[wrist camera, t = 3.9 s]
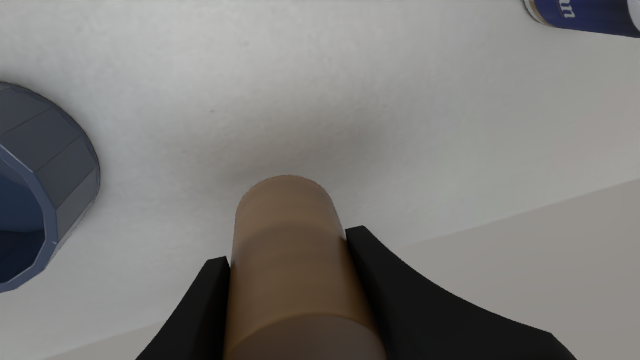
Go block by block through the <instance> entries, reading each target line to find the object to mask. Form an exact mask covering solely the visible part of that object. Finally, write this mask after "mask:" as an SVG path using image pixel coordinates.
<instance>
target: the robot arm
mask: <svg viewBox="0 0 640 360" xmlns="http://www.w3.org/2000/svg"><path fill="white" fill-rule="evenodd" d="M345 233H346V239H347V243H348V246H349V249H350V251H351V254H352V257H353V260H354V262H355V265H356V268H357V270H358V273H359V275H360V278H361V281H362V283H363V286H364V289H365V292H366V294H367V297H368V300H369V303H370V305H371V308H372V311H373V314H374V316H375V319H376V322H377V324H378V327H379V330H380V333H381V335H382V338H383V341H384V344H385V346H386V351H387V360H577V359H576V358H575V357H574V356H573V355H572V353H571V352H570V351H569V350H568V349H567V348H566V347H565V346H564V345H562V343H561V342H559V341H558V340H557V339H556V338H555V337H554V336H553V335H552V334H551V333H549V332H546V331H543V330H540V329H537V328H534V327H531V326H528V325H525V324H521V323H519V322H516V321H513V320H510V319H507V318H505V317H502V316H500V315H497V314H495V313H492V312H489V311H487V310H485V309H483V308H481V307H478V306H476V305H474V304H472V303H470V302H468V301H466V300H463V299H462V298H460V297H458V296H455V295H454V294H452V293H450V292H448V291H446V290H445V289H443V288H441V287H440V286H438V285H436V284H435V283H433V282H431V281H430V280H429V279H427V278H426V277H424V276H422V275H421V274H420V273H418V272H417V271H416V270H414V269H413V268H411V267H410V266H409V265H407V264H406V263H405V262H404V261H402V260H401V259H400V258H399V257H397V256H396V255H395V254H394V253H393V252H391V251H390V250H389V249H388V248H387V247H386V246H384V245H383V244H382V243H381V242H380V241H379V240H378V239H377V238H376V237H375V236H374V235H373V234H372V233H371V232H370V231H369V230H368V229H367V228H366V227H365V226H363V225H362V226H357V227H353V228H348V229H345ZM229 277H230V267H229V264H228V261H227V258H226V256H223V257H218V258H214V259H209V260H207V261H206V263H205V264H204V266H203V267H202V269H201V270H200V272H199V273H198V275H197V277H196V278H195V280H194V281H193V283H192V285H191V286H190V288H189V289H188V291H187V292H186V294H185V295H184V297H183V298H182V300H181V301H180V303H179V304H178V306H177V307H176V309H175V310H174V312H173V313H172V315H171V316H170V317H169V319H168V320H167V321H166V323H165V324H164V325H163V327H162V328H161V330H160V331H159V332H158V334H157V335H156V336H155V337H154V339H153V340H152V341H151V342H150V343H149V344H148V346H147V347H146V348H145V349H144V350H143V351H142V352H141V354H140V355H139V356H138V357H137V358H136V359H135V360H222V351H223V340H224V330H225V319H226V309H227V298H228V288H229Z"/></svg>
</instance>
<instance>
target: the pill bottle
mask: <svg viewBox="0 0 640 360" xmlns="http://www.w3.org/2000/svg"><path fill="white" fill-rule="evenodd" d="M524 2H525V4H526V7H527V9H528V11H529V12H530V14H531V15H532V16H533V17H534V18H535V19H536V20H537V21H539V22H541V23H542V24H545V25H547V26H551V27H557V28H563V29H572V30H580V31H588V32H596V33H604V34H611V35H620V36H627V37H633V38H640V0H524Z"/></svg>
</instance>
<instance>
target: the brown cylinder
mask: <svg viewBox="0 0 640 360" xmlns="http://www.w3.org/2000/svg"><path fill="white" fill-rule="evenodd" d="M222 360H387V351H386V346H385V344H384V341H383V338H382V335H381V333H380V330H379V327H378V324H377V322H376V319H375V316H374V314H373V311H372V308H371V305H370V303H369V300H368V297H367V294H366V292H365V289H364V286H363V283H362V281H361V278H360V275H359V273H358V270H357V268H356V265H355V262H354V260H353V257H352V254H351V251H350V249H349V246H348V243H347V240H346V237H345V234H344V231H343V229H342V226H341V223H340V220H339V218H338V215H337V212H336V210H335V207H334V204H333V202H332V199H331V198H330V196H329V194H328V193H327V192H326V191H325V189H323V188H322V187H321V186H320V185H319V184H317V183H316V182H314V181H312V180H310V179H307V178H304V177H301V176H295V175H280V176H275V177H271V178H268V179H265V180H263V181H261V182H259V183H257V184H256V185H255V186H253V187H252V188H251V189H250V190H248V191H247V192H246V194H245V195H244V196H243V197H242V199H241V201H240V202H239V204H238V207H237V210H236V214H235V225H234V235H233V246H232V256H231V267H230V277H229V288H228V298H227V309H226V319H225V330H224V340H223V351H222Z"/></svg>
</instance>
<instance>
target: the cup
mask: <svg viewBox="0 0 640 360" xmlns="http://www.w3.org/2000/svg"><path fill="white" fill-rule="evenodd" d="M99 182H100V172H99V165H98V161H97V157H96V154H95V152H94V149H93V147H92V145H91V143H90V141H89V140H88V138H87V136H86V135H85V134H84V132H83V131H82V129H81V128H80V127H79V126H78V125H77V124H76V123H75V121H74V120H73V119H72V118H71V117H70V116H68V115H67V114H66V113H65V112H64V111H63V110H62V109H60V108H59V107H57V106H56V105H55V104H53V103H52V102H50V101H49V100H47V99H45V98H43V97H42V96H40V95H38V94H36V93H34V92H31V91H29V90H27V89H25V88H22V87H19V86H16V85H13V84H9V83H4V82H0V293H2V292H6V291H11V290H14V289H17V288H18V287H20V286H21V285H23V284H24V283H26V282H27V281H29V280H30V279H32V278H33V277H35V276H36V275H38V274H39V273H41V272H42V271H43V270H44V269H45V268H46V267H47V265H48V264H49V263H50V261H51V260H52V259H53V258H54V256H55V255H56V254H57V252H58V251H59V250H60V248H61V247H62V246H63V245H64V243H65V242H66V241H67V239H68V238H69V237H70V235H71V234H72V233H73V231H74V230H75V229H76V228H77V226H78V225H79V224H80V222H81V221H82V220H83V218H84V217H85V215H86V213H87V212H88V210H89V208H90V207H91V205H92V204H93V202H94V200H95V198H96V196H97V193H98V189H99Z"/></svg>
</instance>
